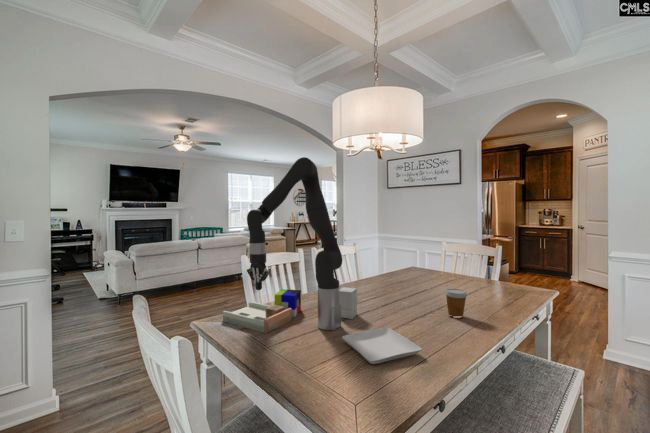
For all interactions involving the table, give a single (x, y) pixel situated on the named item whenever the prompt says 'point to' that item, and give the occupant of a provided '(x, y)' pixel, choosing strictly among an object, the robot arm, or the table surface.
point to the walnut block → (274, 310)
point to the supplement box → (348, 302)
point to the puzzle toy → (289, 300)
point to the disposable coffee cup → (455, 301)
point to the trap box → (257, 317)
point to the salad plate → (381, 345)
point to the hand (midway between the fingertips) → (258, 289)
